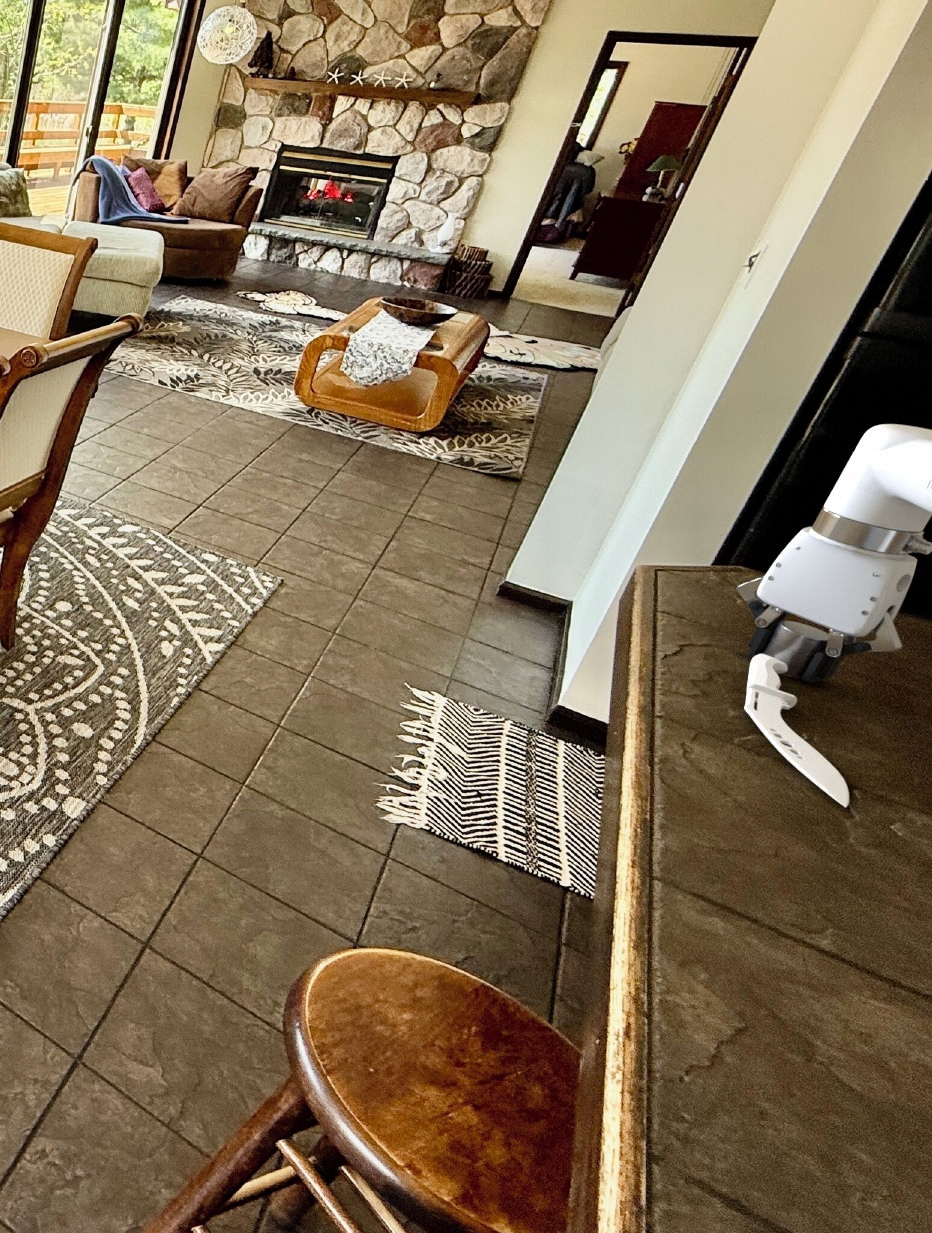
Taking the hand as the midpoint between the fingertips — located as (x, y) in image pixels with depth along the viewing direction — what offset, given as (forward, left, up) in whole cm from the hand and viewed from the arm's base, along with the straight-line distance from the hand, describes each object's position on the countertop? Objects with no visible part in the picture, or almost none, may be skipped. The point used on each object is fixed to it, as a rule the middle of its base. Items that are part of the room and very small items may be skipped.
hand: (784, 666), depth 108 cm
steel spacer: (0, 0, 0) cm, 0 cm away
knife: (-8, +15, -1) cm, 17 cm away
